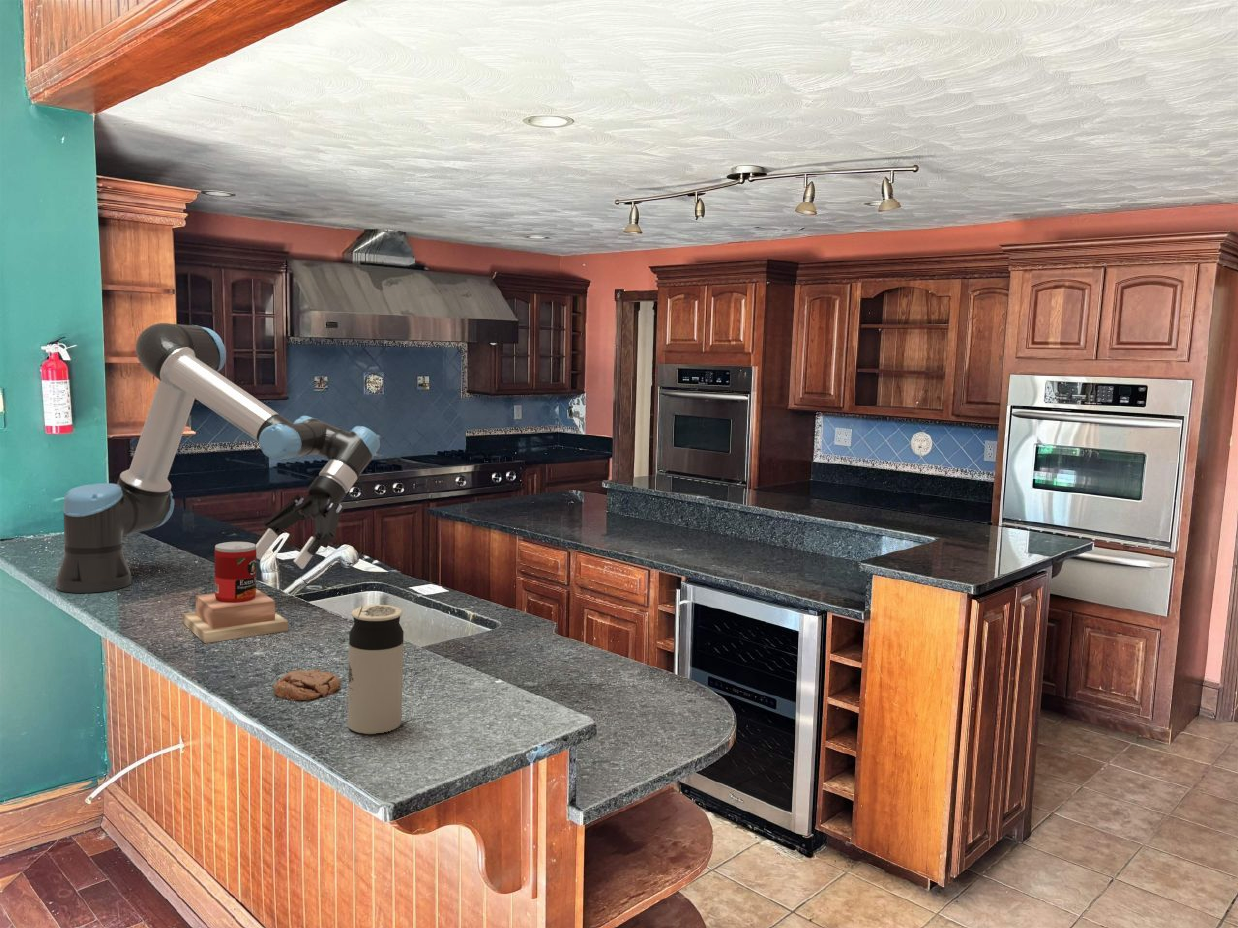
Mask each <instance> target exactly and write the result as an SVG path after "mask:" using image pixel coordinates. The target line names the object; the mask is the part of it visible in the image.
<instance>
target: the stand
mask: <svg viewBox="0 0 1238 928" xmlns="http://www.w3.org/2000/svg"><path fill="white" fill-rule="evenodd" d="M182 624H183V625H184V626H186V627H187V628H188V630H190V631H191V632H192V633H193V634H194V635H195V636H196V637H197V638H199V639H200V641H202V642H203V643H204V644H208V643H209V644H210V643H216V642H222V641H229V640H236V639H243V638H248V637H255V636H262V635H263V636H264V635H268V634H270V635H271V634H276V633H282V632H288V631H289V621H288V620H287V619H286V618H285V617H283V616H282V615H280V614H278V613H277V612H276V600H275V599H272V598H271V597H270V596H268V595H267V594H265V593H263V592H262V591H261V590H259V589H258V588H256V595H255V597H254V599H252V600H249V601H245V602H236V603H228V602H221V601H218V600H217V599H216V597H215V592H212V593H206V594H205V593H204V594H203V593H202V594H197V595H195V611H191V612H183V613H182Z"/></svg>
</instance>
